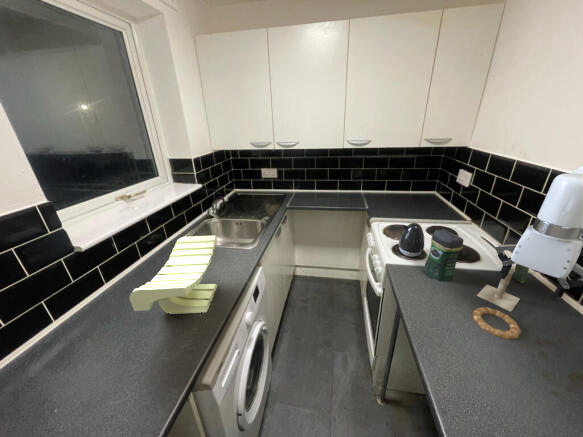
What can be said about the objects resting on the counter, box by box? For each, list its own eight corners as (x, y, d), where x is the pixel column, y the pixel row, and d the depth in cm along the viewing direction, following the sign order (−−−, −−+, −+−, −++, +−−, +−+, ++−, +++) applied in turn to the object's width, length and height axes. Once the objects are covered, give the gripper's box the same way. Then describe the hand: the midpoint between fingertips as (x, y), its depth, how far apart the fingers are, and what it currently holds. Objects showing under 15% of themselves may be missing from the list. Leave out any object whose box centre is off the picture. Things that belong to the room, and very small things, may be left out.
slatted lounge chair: (185, 274, 97) (175, 237, 90) (223, 272, 97) (215, 235, 90) (145, 336, 70) (125, 290, 62) (197, 334, 70) (184, 287, 62)
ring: (523, 328, 67) (526, 322, 66) (512, 348, 61) (514, 343, 60) (479, 305, 75) (481, 300, 74) (465, 322, 69) (467, 317, 69)
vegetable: (511, 283, 84) (532, 235, 76) (506, 275, 88) (526, 229, 79) (527, 285, 82) (550, 237, 74) (521, 278, 86) (543, 231, 78)
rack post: (518, 301, 76) (534, 268, 71) (509, 314, 71) (526, 280, 66) (485, 286, 83) (497, 256, 77) (475, 297, 78) (487, 266, 73)
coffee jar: (456, 281, 86) (470, 238, 78) (437, 284, 85) (450, 241, 77) (437, 266, 95) (448, 226, 87) (420, 269, 93) (429, 228, 86)
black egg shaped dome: (394, 247, 109) (398, 218, 103) (417, 248, 108) (423, 218, 102) (400, 259, 100) (405, 228, 94) (425, 260, 99) (433, 229, 92)
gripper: (620, 237, 48) (580, 299, 55) (513, 212, 61) (492, 265, 68) (616, 249, 44) (574, 314, 51) (503, 220, 57) (482, 275, 64)
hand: (527, 286), depth 60 cm, fingers open, 9 cm apart
